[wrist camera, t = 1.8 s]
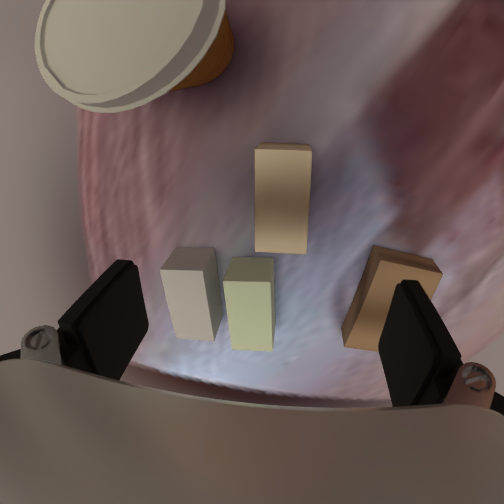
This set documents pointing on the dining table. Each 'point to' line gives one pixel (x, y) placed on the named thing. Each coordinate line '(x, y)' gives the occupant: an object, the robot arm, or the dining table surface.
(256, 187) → the beech brick
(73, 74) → the disposable coffee cup
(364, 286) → the walnut base
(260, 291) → the sage brick
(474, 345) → the dining table surface
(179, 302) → the grey brick
